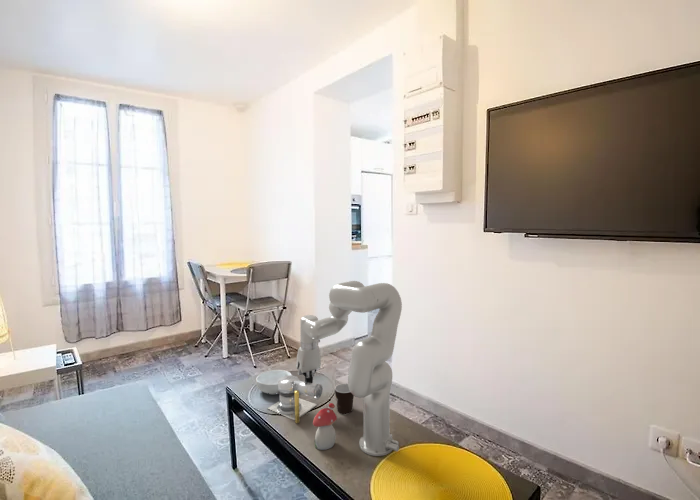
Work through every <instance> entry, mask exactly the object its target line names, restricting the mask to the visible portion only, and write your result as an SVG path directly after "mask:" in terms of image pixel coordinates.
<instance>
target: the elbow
mask: <svg viewBox="0 0 700 500" xmlns="http://www.w3.org/2000/svg"><path fill="white" fill-rule="evenodd" d="M295 390H298V391H299V395H303V396H307V397H312V398H315V399H320V398H321V396H322V394H323V385H322V384H321V383H314V382H313V383H309V382H305V380H303V381H302V380H300V378H299V377H298V376H297V375H293V374H291V375H289V376H283V377H281V378H280V379H279V380H278V394H277V395H279V396H280V395H281V396H294V391H295Z"/></svg>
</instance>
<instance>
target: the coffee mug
mask: <svg viewBox="0 0 700 500" xmlns="http://www.w3.org/2000/svg"><path fill="white" fill-rule="evenodd" d="M334 395H335V401H336V402H335V403H336V409H337V412H338V414H340V415H349V414H351V413H352V412H353V407H354V406H353V405H354V399H355V396H354V395H353V394H352V393H351V391H350V389H349V386H348V383H339V384H337V385H335V386H334Z"/></svg>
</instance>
